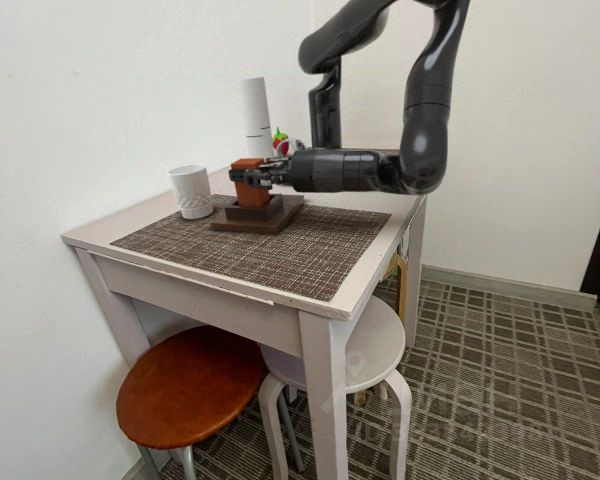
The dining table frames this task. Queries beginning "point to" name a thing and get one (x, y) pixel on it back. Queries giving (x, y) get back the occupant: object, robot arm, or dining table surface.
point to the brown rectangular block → (249, 194)
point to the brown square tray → (259, 215)
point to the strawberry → (278, 139)
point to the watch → (295, 146)
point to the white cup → (191, 190)
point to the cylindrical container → (256, 117)
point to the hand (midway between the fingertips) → (236, 171)
